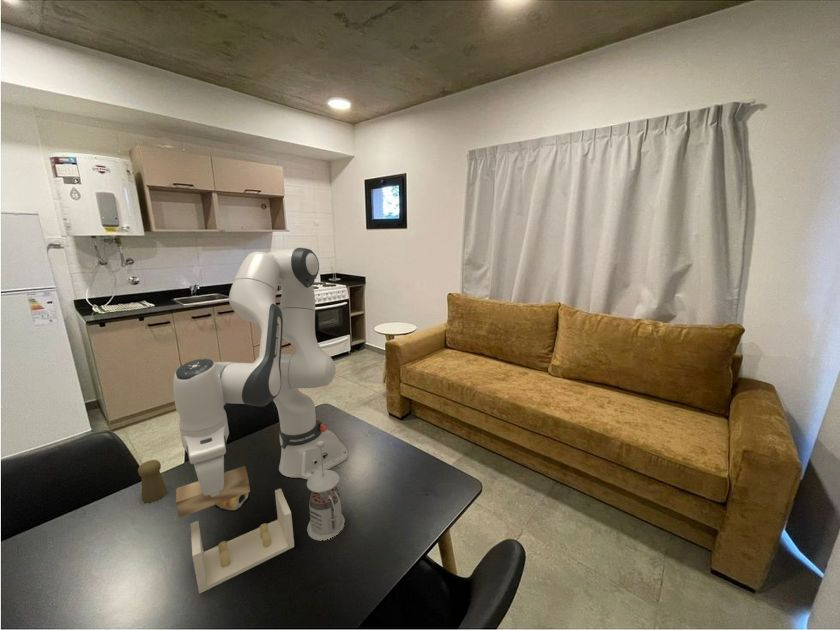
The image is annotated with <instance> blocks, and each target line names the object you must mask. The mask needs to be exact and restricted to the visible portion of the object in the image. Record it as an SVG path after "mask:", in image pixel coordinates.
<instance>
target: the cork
mask: <svg viewBox="0 0 840 630" xmlns="http://www.w3.org/2000/svg"><path fill="white" fill-rule="evenodd" d="M161 466H162V464H161V462H160V461H159V459H158V460H157V459H151V460H147V461H144V462H143V463H142V464H140V465H139V467H138V469H137V473H138V475H139V477H140V478H141V502H142V501H143V502H144V503H143V502H142V503H143V504H146V503H149V504H153V503H156V502H159V501H160V500H162V499H163V498H164V497H166V496H167V494H168V489H167V486H166V484H165V481H164V479H163V476H162V473H161V472H160V470H161ZM155 501H156V502H155ZM152 502H153V503H152Z"/></svg>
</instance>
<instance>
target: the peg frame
mask: <svg viewBox="0 0 840 630" xmlns="http://www.w3.org/2000/svg"><path fill="white" fill-rule="evenodd" d="M274 494H275V495H274V496H275V505H276V514H277V519H275V520H273V521H270V522H269V523H266V522H265V523H262V524H260V526H259V527H257V528H255V529H253V530H250V531H249V532H246V533H244V534H241V535H239V536H237V537H235V538H233V539H231V540H228V541H227V540H222V541H220V543H218V545H216V546H214V547H212V548H210V549H208V550H205V551H204V547H203V540H202V536H201V535H202V534H201V530H200V525H199V523H200V522H199V520H196V521H193V522H192V523H190V538H191V551H192V552H191V554H192V555H191V557H192V561H193V568H194V573H195V578H196V584H197V589H198V594H199V595H200V594H202V593H204V592H206V591H208V590H210V589H212V588H213V587H217V586H218V585H220V584H223V583H224V582H226V581H228V580H230V579H232V578H234V577H236V576H238V575H240V574H242V573H244V572H246V571H248V570H250V569H252V568H254V567H256V566H258V565H261V564H262V563H264V562H267V561H268V560H270V559H273V558H274V557H276V556H279V555H280V554H283V553H285V552H286V551H288V550H290V549H293V548H294V547H295V539H294V528H293V518H292V511H291V509H290V506H289V504H288V502H287V499H286V497H285V495H284V493H283V490H282V488H281V487H280V488H277V489H275V490H274Z"/></svg>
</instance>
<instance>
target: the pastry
mask: <svg viewBox="0 0 840 630" xmlns="http://www.w3.org/2000/svg"><path fill="white" fill-rule="evenodd" d="M248 498H249V492H248V493H245V494H243V495H240V496H237V497H235V498H232V499H229V500H226V501H224V502H221V503H218V504H216V505H215V506H217V507H218V508H220V510H221V509H222V510H227V511H237V510H238V509H239V508H241V507H242V505H243V504H244V502H245V501H246V500H247V499H248Z"/></svg>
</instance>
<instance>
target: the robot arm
mask: <svg viewBox="0 0 840 630" xmlns="http://www.w3.org/2000/svg"><path fill="white" fill-rule="evenodd" d="M319 271H320V263H319V259H318V257H317V255H316V253H314V251H313V250H312V249H311V248H306V247H296V248H282V249H277V250H272V251H269V252H264V251H253V252H250V253H249V254H247V256H245V258H244V259H243V261H242V262H241V264H240V267H239V268H238V270H237V272H236V275H235V277H234V279H233V282H232V284H231V287H230V290H229V295H228V302H229V305H230V307H231V309H232V310H233V312H234V313H235V314H237V315H238V316H239V317H240V318H242V319H244V320H246V321H247V322H250V323H251V324H254V325H256V326H259V327H260V332H261V333H260V343H259V350H258V351H259V352H258V357H257V358H256V359H255V360H254V361H253V362H234V361H214V360H212V359H209V358H199V359H194V360H190V361H188V362H186V363H184V364H181V366H179V367H178V368H177V369H176V371H175V372H174V375H173V381H172V383H173V384H172V391H173V399H174V405H175V410H176V412H177V413H178V415H179V423H178V427H179V433H180V438H181V444H182V448H183V449H184V451H185V452H186V453H187V456H188V461H189V463H190V465H193V467H194V470H195V474H196V476H197V477H196V478H197V479H198V480H197V481H199V484H200V487H201V490H202V492H203V494H204V495H205V496H208V495H210V496H211V497H214V496H217V495H219V494H220V491H222V490H223V488H224V472H225V458H224V457H225V456H224V455H226V453H227V440H228V437H229V435H230V431H229V425H228V417H227V413H226V410H225V408H224V406H225V405H226V404H238V405H239V404H241V405H242V404H243V405H249V406H255V407H259V408H260V407H262V408H263V407H265V406H267V405H269V404H270V403H271V402H272V401H273V402H274V404H275V406H276V408H277V412H278V419H279V425H280V427H279V428H278V429H279V432H278V433H279V435H278V436H279V443H280V446H281V453H280V462H279V464H278V465H279V466H278V471H279V472H280V474H281V475H283V476H285V477H287V478H288V477H289V478H297V479H298V478H299V479H300V478H301V479H304V480H308V479H309V478H310V477H311V476H312V475H313V474H315V473H316V472H319V471H322V461H323V470H331V469H332V468H334V467H335V466H338V465H339V464H340V463H343V462H344V461H345V462H346V460H348V457H349V453H348V449H347V448H346V446H345V444H344V443H343V442H341V441H340V440H339V439H338V438H339V437H338V436H337V435H336V434H335V433H334V432H333V431H331V430H330V429H328V427H327V426H326V425H325V424H324V423H322V421H321V420H319V418H317V417H316V404H315V402H314V400H313V399H312V397H310V396H309V395H308V394H306V393H303V392H302V391H301V390H299V389H315V388H316V389H317V388H322V387H326V386H328V385H330V384H331V383H332V382H333V380H334V378H335V375H336V371H337V370H336V369H337V367H336V363H335V361H334V360H333V358H332V357H331V356H330V355H329V354H328V353H326V352H325V351H324V350H323V349H322V348H321V346H320V345H319V342H318V340H317V336H316V296H315V288H314V283H315V281H316V279H317V276H318V274H319ZM279 287H280V288H281V292H282V293H281V296H280V302H279V306H278V305H277V304H276V297H277V292H278V288H279ZM283 340H284V341H286V342H288V343H289V344H292V345H293V346H294V349H295V352H293V353H282V349H283V348H282V347H283V346H282V345H283ZM319 441H324V443H325V446H324V447H322V461H321V448H318V447H317V443H318V442H319Z"/></svg>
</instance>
